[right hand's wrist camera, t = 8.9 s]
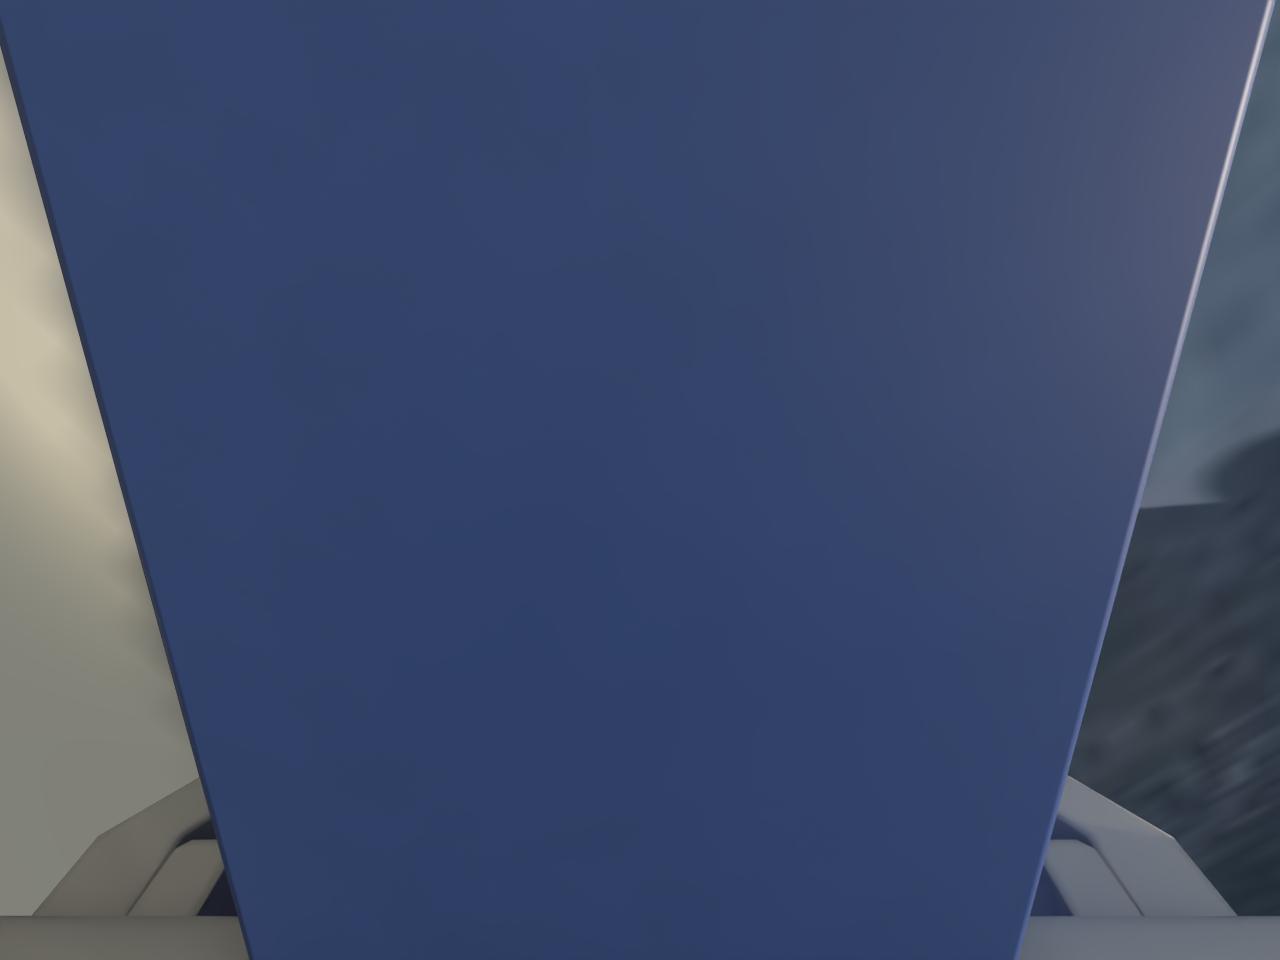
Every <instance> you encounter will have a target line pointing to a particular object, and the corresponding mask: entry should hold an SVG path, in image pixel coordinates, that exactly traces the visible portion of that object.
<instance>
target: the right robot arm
mask: <svg viewBox="0 0 1280 960" xmlns="http://www.w3.org/2000/svg"><path fill="white" fill-rule="evenodd" d="M0 960H249V957H248V953H247V949H246V946H245V942H244V938H243V935H242V931H241V927H240V924H239V920H238V916H237V913H236V909H235V905H234V902H233V898H232V894H231V891H230V887H229V883H228V880H227V876H226V872H225V869H224V865H223V861H222V858H221V854H220V850H219V847H218V843H217V839H216V836H215V832H214V828H213V825H212V821H211V817H210V814H209V810H208V806H207V803H206V799H205V795H204V792H203V788H202V784H201V781H200V777H199V778H198V779H196V780H194V781H193V782H191V783H189V784H187V785H186V786H184V787H182V788H181V789H179V790H177V791H175V792H174V793H172V794H170V795H169V796H167V797H165V798H163V799H162V800H160V801H158V802H156V803H155V804H153V805H151V806H150V807H148V808H146V809H144V810H143V811H141V812H139V813H138V814H136V815H134V816H132V817H131V818H129V819H127V820H125V821H124V822H122V823H120V824H119V825H117V826H115V827H113V828H112V829H110V830H108V831H107V832H105V833H103V834H101V835H100V836H98V837H97V838H96V840H95V841H94V842H93V843H92V844H91V846H90V847H89V848H88V849H87V850H86V852H85V853H84V854H83V855H82V856H81V858H80V859H79V860H78V861H77V862H76V864H75V865H74V866H73V867H72V868H71V870H70V871H69V872H68V873H67V874H66V875H65V877H64V878H63V879H62V880H61V881H60V883H59V884H58V885H57V886H56V887H55V889H54V890H53V891H52V892H51V893H50V895H49V896H48V897H47V898H46V899H45V901H44V902H43V903H42V904H41V905H40V906H39V908H38V909H37V910H36V911H35V912H34V914H33V915H32V916H0ZM1018 960H1280V916H1237V914H1236V913H1235V912H1234V911H1233V910H1232V908H1231V907H1230V906H1229V905H1228V903H1227V902H1226V901H1225V900H1224V898H1223V897H1222V896H1221V895H1220V894H1219V892H1218V891H1217V890H1216V889H1215V887H1214V886H1213V885H1212V884H1211V883H1210V881H1209V880H1208V879H1207V878H1206V876H1205V875H1204V874H1203V873H1202V872H1201V870H1200V869H1199V868H1198V867H1197V865H1196V864H1195V863H1194V862H1193V861H1192V859H1191V858H1190V857H1189V856H1188V854H1187V853H1186V852H1185V851H1184V850H1183V848H1182V847H1181V846H1180V845H1179V843H1178V842H1177V841H1176V840H1175V839H1174V837H1172V836H1170V835H1169V834H1167V833H1165V832H1163V831H1162V830H1160V829H1158V828H1157V827H1155V826H1153V825H1152V824H1150V823H1148V822H1146V821H1145V820H1143V819H1141V818H1140V817H1138V816H1136V815H1135V814H1133V813H1131V812H1130V811H1128V810H1126V809H1124V808H1123V807H1121V806H1119V805H1118V804H1116V803H1114V802H1113V801H1111V800H1109V799H1107V798H1106V797H1104V796H1102V795H1101V794H1099V793H1097V792H1096V791H1094V790H1092V789H1090V788H1089V787H1087V786H1085V785H1084V784H1082V783H1080V782H1079V781H1077V780H1075V779H1073V778H1072V777H1070V776H1068V775H1067V779H1066V782H1065V786H1064V790H1063V794H1062V797H1061V801H1060V805H1059V808H1058V812H1057V816H1056V820H1055V823H1054V827H1053V831H1052V834H1051V838H1050V842H1049V846H1048V849H1047V853H1046V857H1045V861H1044V864H1043V868H1042V872H1041V875H1040V879H1039V883H1038V887H1037V890H1036V894H1035V898H1034V901H1033V905H1032V909H1031V913H1030V916H1029V920H1028V924H1027V928H1026V931H1025V935H1024V939H1023V942H1022V946H1021V950H1020V954H1019V957H1018Z"/></svg>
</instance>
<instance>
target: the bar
mask: <svg viewBox="0 0 1280 960" xmlns="http://www.w3.org/2000/svg"><path fill="white" fill-rule="evenodd" d="M1275 1H1276V0H0V46H1V50H2V54H3V57H4V61H5V65H6V68H7V72H8V76H9V79H10V83H11V87H12V90H13V94H14V98H15V101H16V105H17V109H18V112H19V116H20V120H21V123H22V127H23V131H24V134H25V138H26V142H27V145H28V149H29V153H30V156H31V160H32V164H33V167H34V171H35V175H36V178H37V182H38V186H39V189H40V193H41V197H42V200H43V204H44V208H45V211H46V215H47V219H48V223H49V226H50V230H51V234H52V237H53V241H54V245H55V248H56V252H57V256H58V259H59V263H60V267H61V270H62V274H63V278H64V281H65V285H66V289H67V292H68V296H69V300H70V303H71V307H72V311H73V314H74V318H75V322H76V325H77V329H78V333H79V336H80V340H81V344H82V347H83V351H84V355H85V358H86V362H87V366H88V369H89V373H90V377H91V380H92V384H93V388H94V391H95V395H96V399H97V402H98V406H99V410H100V413H101V417H102V421H103V424H104V428H105V432H106V435H107V439H108V443H109V446H110V450H111V454H112V457H113V461H114V465H115V468H116V472H117V476H118V479H119V483H120V487H121V490H122V494H123V498H124V502H125V505H126V509H127V513H128V516H129V520H130V524H131V527H132V531H133V535H134V538H135V542H136V546H137V549H138V553H139V557H140V560H141V564H142V568H143V571H144V575H145V579H146V582H147V586H148V590H149V593H150V597H151V601H152V604H153V608H154V612H155V615H156V619H157V623H158V626H159V630H160V634H161V637H162V641H163V645H164V648H165V652H166V656H167V659H168V663H169V667H170V670H171V674H172V678H173V681H174V685H175V689H176V692H177V696H178V700H179V703H180V707H181V711H182V714H183V718H184V722H185V725H186V729H187V733H188V736H189V740H190V744H191V747H192V751H193V755H194V758H195V762H196V766H197V770H198V773H199V777H200V781H201V784H202V788H203V792H204V795H205V799H206V803H207V806H208V810H209V814H210V817H211V821H212V825H213V828H214V832H215V836H216V839H217V843H218V847H219V850H220V854H221V858H222V861H223V865H224V869H225V872H226V876H227V880H228V883H229V887H230V891H231V894H232V898H233V902H234V905H235V909H236V913H237V916H238V920H239V924H240V927H241V931H242V935H243V938H244V942H245V946H246V949H247V953H248V957H249V960H1018V957H1019V954H1020V950H1021V946H1022V942H1023V939H1024V935H1025V931H1026V928H1027V924H1028V920H1029V916H1030V913H1031V909H1032V905H1033V901H1034V898H1035V894H1036V890H1037V887H1038V883H1039V879H1040V875H1041V872H1042V868H1043V864H1044V861H1045V857H1046V853H1047V849H1048V846H1049V842H1050V838H1051V834H1052V831H1053V827H1054V823H1055V820H1056V816H1057V812H1058V808H1059V805H1060V801H1061V797H1062V794H1063V790H1064V786H1065V782H1066V779H1067V775H1068V771H1069V767H1070V764H1071V760H1072V756H1073V753H1074V749H1075V745H1076V741H1077V738H1078V734H1079V730H1080V727H1081V723H1082V719H1083V715H1084V712H1085V708H1086V704H1087V700H1088V697H1089V693H1090V689H1091V686H1092V682H1093V678H1094V674H1095V671H1096V667H1097V663H1098V660H1099V656H1100V652H1101V648H1102V645H1103V641H1104V637H1105V634H1106V630H1107V626H1108V622H1109V619H1110V615H1111V611H1112V607H1113V604H1114V600H1115V596H1116V593H1117V589H1118V585H1119V581H1120V578H1121V574H1122V570H1123V567H1124V563H1125V559H1126V555H1127V552H1128V548H1129V544H1130V540H1131V537H1132V533H1133V529H1134V526H1135V522H1136V518H1137V514H1138V511H1139V507H1140V503H1141V500H1142V496H1143V492H1144V488H1145V485H1146V481H1147V477H1148V473H1149V470H1150V466H1151V462H1152V459H1153V455H1154V451H1155V447H1156V444H1157V440H1158V436H1159V433H1160V429H1161V425H1162V421H1163V418H1164V414H1165V410H1166V406H1167V403H1168V399H1169V395H1170V392H1171V388H1172V384H1173V380H1174V377H1175V373H1176V369H1177V366H1178V362H1179V358H1180V354H1181V351H1182V347H1183V343H1184V340H1185V336H1186V332H1187V328H1188V325H1189V321H1190V317H1191V313H1192V310H1193V306H1194V302H1195V299H1196V295H1197V291H1198V287H1199V284H1200V280H1201V276H1202V273H1203V269H1204V265H1205V261H1206V258H1207V254H1208V250H1209V246H1210V243H1211V239H1212V235H1213V232H1214V228H1215V224H1216V220H1217V217H1218V213H1219V209H1220V206H1221V202H1222V198H1223V194H1224V191H1225V187H1226V183H1227V179H1228V176H1229V172H1230V168H1231V165H1232V161H1233V157H1234V153H1235V150H1236V146H1237V142H1238V139H1239V135H1240V131H1241V127H1242V124H1243V120H1244V116H1245V112H1246V109H1247V105H1248V101H1249V98H1250V94H1251V90H1252V86H1253V83H1254V79H1255V75H1256V72H1257V68H1258V64H1259V60H1260V57H1261V53H1262V49H1263V46H1264V42H1265V38H1266V34H1267V31H1268V27H1269V23H1270V19H1271V16H1272V12H1273V8H1274V5H1275Z"/></svg>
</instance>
